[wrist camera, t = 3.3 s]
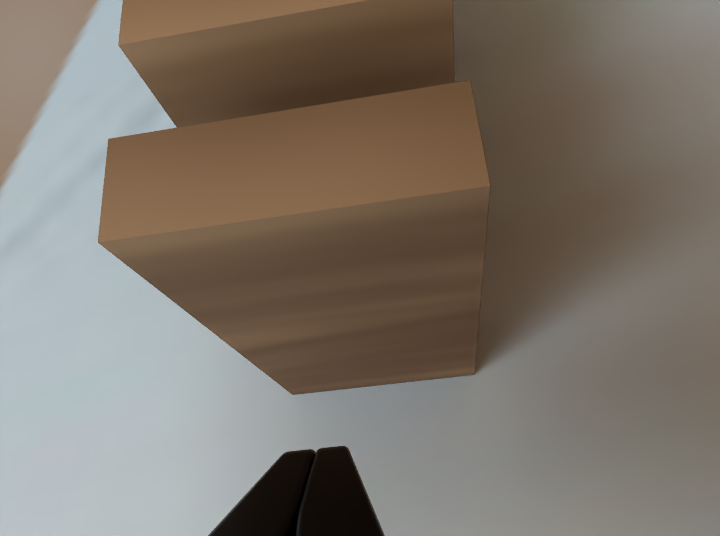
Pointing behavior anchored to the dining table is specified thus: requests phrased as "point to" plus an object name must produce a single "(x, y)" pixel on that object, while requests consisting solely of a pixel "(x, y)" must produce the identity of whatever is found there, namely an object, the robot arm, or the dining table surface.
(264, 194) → the domino
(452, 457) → the dining table surface
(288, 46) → the domino
